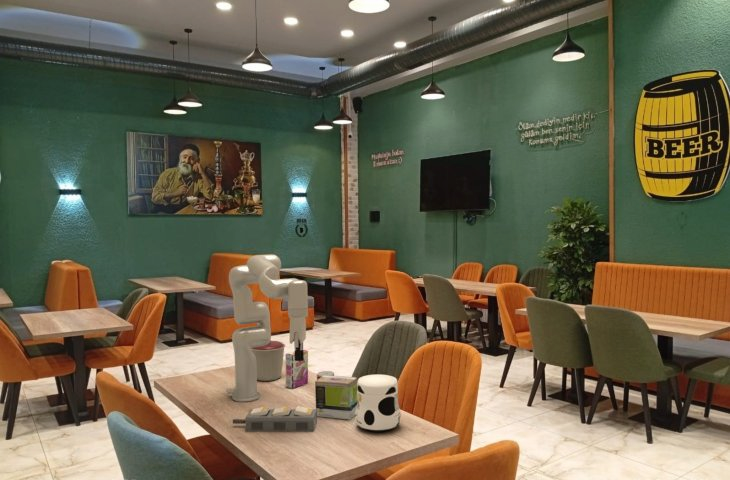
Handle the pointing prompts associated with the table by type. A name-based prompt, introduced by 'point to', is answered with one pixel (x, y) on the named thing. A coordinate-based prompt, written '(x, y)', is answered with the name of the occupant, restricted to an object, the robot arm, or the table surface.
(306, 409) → the rocker
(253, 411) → the rocker
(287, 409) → the rocker
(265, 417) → the power strip
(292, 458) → the table surface
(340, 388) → the tea box
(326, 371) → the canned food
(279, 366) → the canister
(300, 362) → the candy bar box
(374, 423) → the milk container
